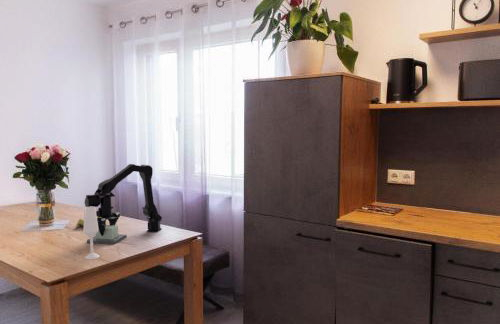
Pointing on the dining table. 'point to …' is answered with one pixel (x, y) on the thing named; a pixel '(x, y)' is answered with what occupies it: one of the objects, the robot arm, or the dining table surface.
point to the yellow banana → (81, 222)
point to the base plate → (108, 240)
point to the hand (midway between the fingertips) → (107, 233)
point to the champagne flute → (90, 228)
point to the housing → (108, 232)
